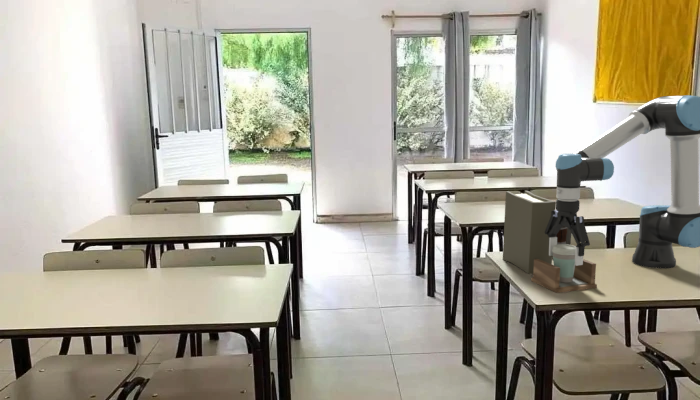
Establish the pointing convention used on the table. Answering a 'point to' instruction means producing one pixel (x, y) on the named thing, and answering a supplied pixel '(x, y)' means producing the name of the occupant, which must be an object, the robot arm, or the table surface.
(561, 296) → the table surface
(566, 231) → the mug
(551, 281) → the holder
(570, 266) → the coffee cup
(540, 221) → the book
